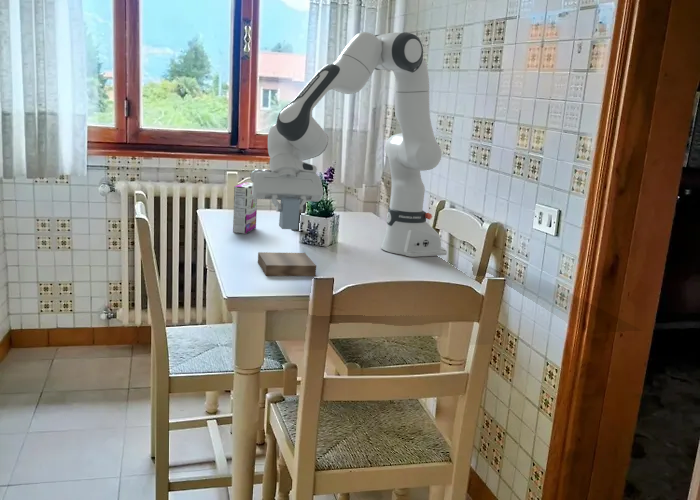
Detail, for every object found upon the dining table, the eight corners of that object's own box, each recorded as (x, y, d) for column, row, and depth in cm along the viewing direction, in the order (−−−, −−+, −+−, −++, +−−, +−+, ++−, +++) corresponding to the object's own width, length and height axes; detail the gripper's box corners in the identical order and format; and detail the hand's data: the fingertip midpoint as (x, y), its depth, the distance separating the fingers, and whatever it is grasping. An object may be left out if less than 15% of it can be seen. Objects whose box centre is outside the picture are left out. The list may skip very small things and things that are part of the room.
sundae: (303, 227, 248) (306, 188, 244) (309, 232, 242) (312, 191, 238) (286, 227, 245) (289, 187, 242) (291, 231, 239) (294, 190, 236)
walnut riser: (304, 262, 199) (304, 252, 199) (315, 275, 186) (316, 265, 186) (257, 262, 195) (258, 252, 194) (265, 275, 182) (266, 265, 181)
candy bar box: (243, 226, 240) (245, 181, 236) (256, 228, 239) (258, 183, 236) (231, 232, 230) (233, 185, 226) (245, 234, 229) (247, 187, 225)
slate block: (294, 225, 191) (296, 198, 189) (297, 229, 186) (300, 201, 185) (279, 225, 189) (280, 197, 187) (282, 228, 185) (284, 200, 183)
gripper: (251, 162, 187) (254, 203, 180) (321, 166, 193) (327, 206, 187) (248, 175, 192) (251, 215, 186) (316, 179, 199) (322, 218, 192)
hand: (290, 211), depth 186 cm, fingers closed on slate block, 4 cm apart
